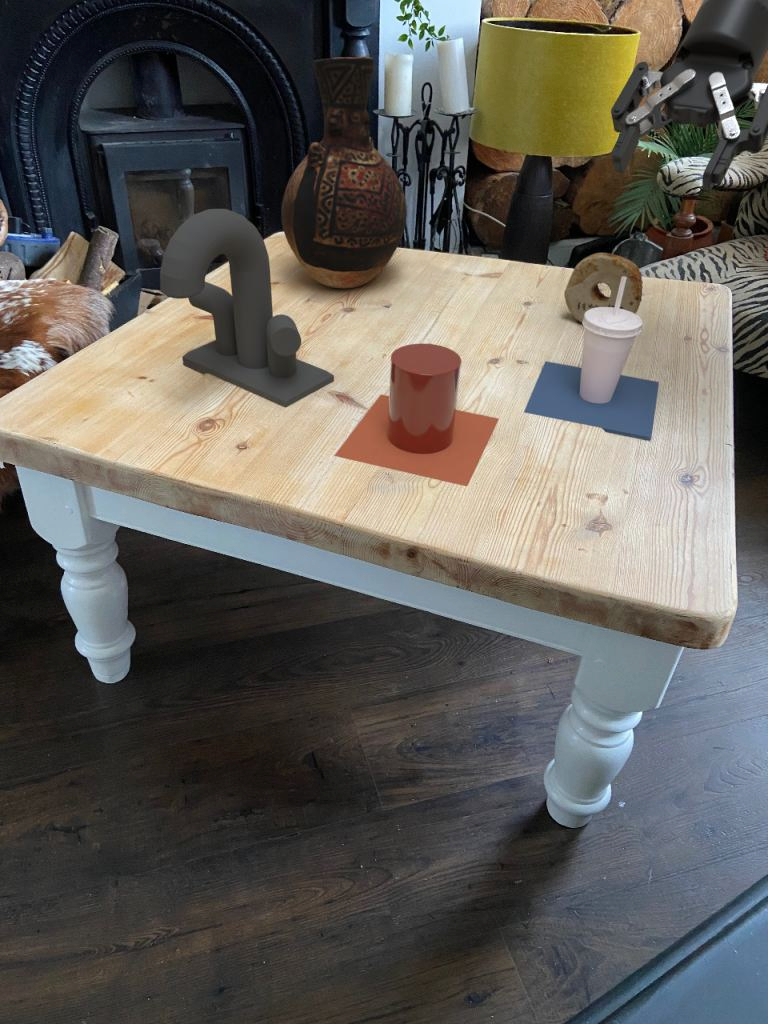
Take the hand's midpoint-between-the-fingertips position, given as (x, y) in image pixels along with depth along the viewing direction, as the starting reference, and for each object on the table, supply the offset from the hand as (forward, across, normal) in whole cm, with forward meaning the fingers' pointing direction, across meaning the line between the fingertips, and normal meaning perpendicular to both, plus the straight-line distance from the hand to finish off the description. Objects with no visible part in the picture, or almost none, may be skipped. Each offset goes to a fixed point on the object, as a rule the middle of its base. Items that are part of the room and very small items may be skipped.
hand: (661, 175), depth 70 cm
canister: (+30, -13, +5) cm, 34 cm away
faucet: (+34, -37, +2) cm, 50 cm away
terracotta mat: (+31, -13, +5) cm, 34 cm away
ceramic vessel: (+9, -49, +27) cm, 56 cm away
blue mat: (+16, -2, +20) cm, 26 cm away
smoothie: (+16, -2, +20) cm, 26 cm away
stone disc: (+2, -11, +34) cm, 36 cm away
